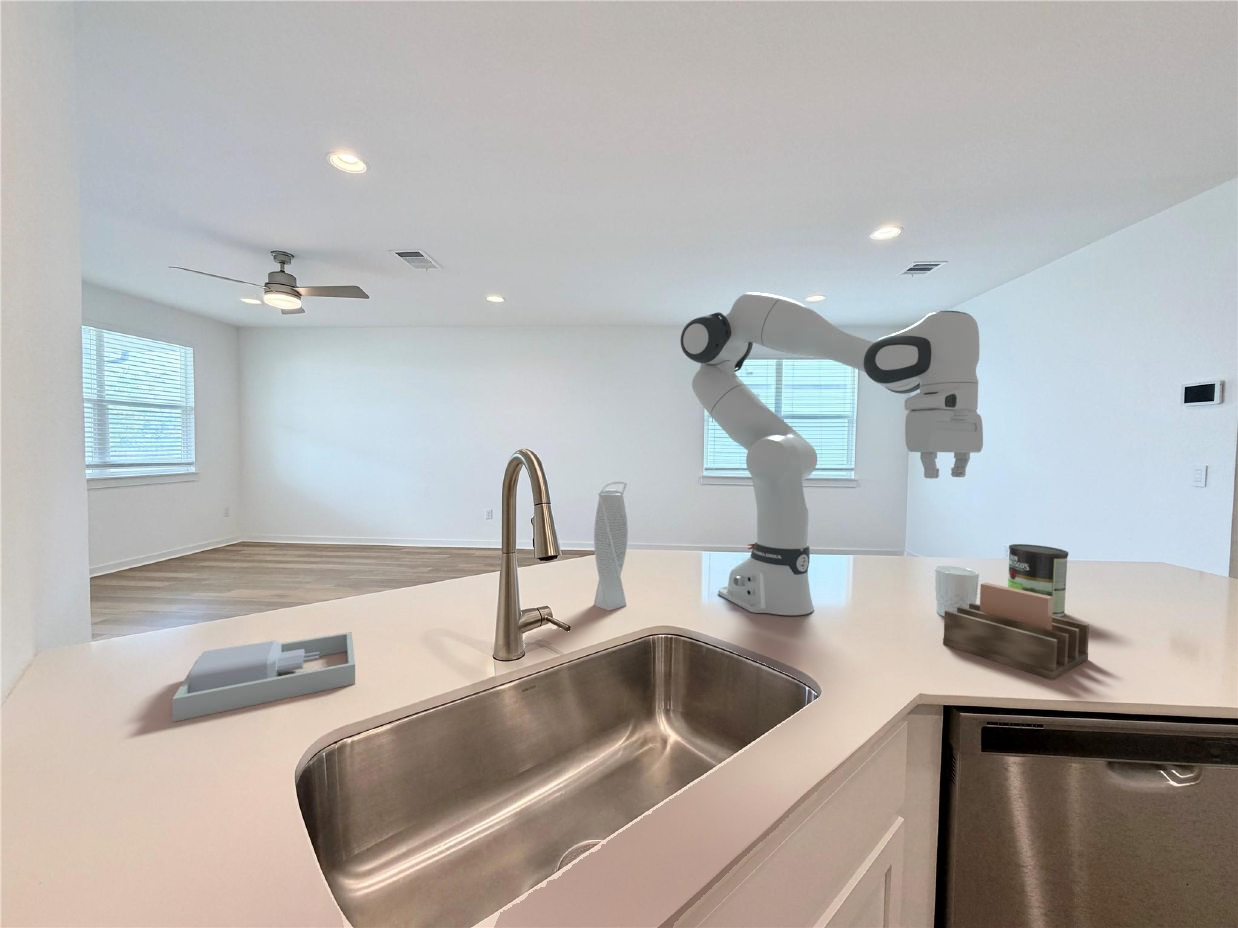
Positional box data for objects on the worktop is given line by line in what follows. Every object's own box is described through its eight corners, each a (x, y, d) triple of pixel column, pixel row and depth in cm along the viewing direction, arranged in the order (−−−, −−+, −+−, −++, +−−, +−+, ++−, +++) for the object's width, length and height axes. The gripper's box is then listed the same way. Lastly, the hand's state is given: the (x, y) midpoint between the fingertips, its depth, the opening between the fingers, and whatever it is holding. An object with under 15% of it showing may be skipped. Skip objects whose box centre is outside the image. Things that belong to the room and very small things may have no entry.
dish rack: (943, 643, 91) (944, 611, 90) (982, 629, 98) (983, 599, 98) (1052, 679, 77) (1054, 641, 77) (1087, 659, 85) (1089, 624, 84)
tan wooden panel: (978, 636, 91) (980, 583, 91) (983, 634, 92) (985, 582, 92) (1045, 656, 83) (1048, 598, 82) (1050, 654, 84) (1053, 596, 83)
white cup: (963, 610, 110) (964, 566, 110) (985, 622, 102) (987, 575, 102) (926, 608, 111) (927, 565, 111) (946, 620, 103) (947, 574, 103)
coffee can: (1025, 615, 107) (1028, 552, 106) (996, 601, 117) (998, 543, 117) (1078, 618, 105) (1081, 554, 105) (1043, 603, 116) (1046, 544, 115)
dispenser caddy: (199, 675, 75) (199, 656, 75) (351, 648, 85) (351, 631, 85) (172, 721, 62) (172, 698, 62) (355, 683, 73) (355, 664, 73)
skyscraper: (612, 597, 116) (614, 480, 115) (634, 605, 111) (636, 482, 110) (587, 604, 111) (588, 482, 110) (608, 613, 105) (610, 484, 104)
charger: (317, 682, 74) (188, 707, 66) (320, 658, 82) (205, 678, 74) (317, 651, 74) (188, 673, 66) (320, 631, 82) (205, 648, 74)
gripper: (957, 406, 96) (955, 475, 97) (898, 400, 86) (896, 477, 86) (994, 403, 91) (992, 477, 91) (937, 397, 81) (934, 480, 81)
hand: (945, 477), depth 89 cm, fingers open, 8 cm apart
